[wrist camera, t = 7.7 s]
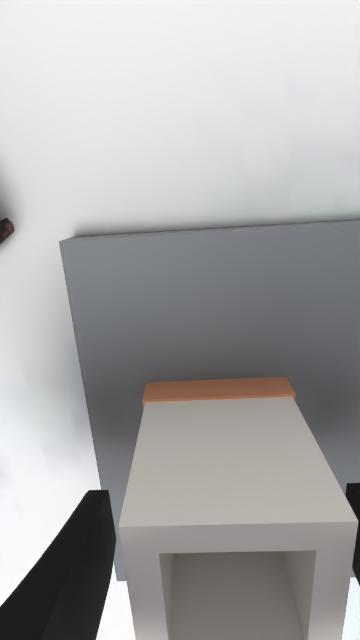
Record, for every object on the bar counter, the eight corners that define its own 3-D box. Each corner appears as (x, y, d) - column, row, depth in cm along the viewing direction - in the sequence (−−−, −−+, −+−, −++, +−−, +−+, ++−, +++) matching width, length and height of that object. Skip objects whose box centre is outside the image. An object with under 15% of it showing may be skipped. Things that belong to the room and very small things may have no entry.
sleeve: (286, 376, 13) (363, 517, 7) (281, 487, 14) (340, 672, 9) (146, 382, 13) (113, 523, 7) (157, 490, 15) (137, 673, 9)
